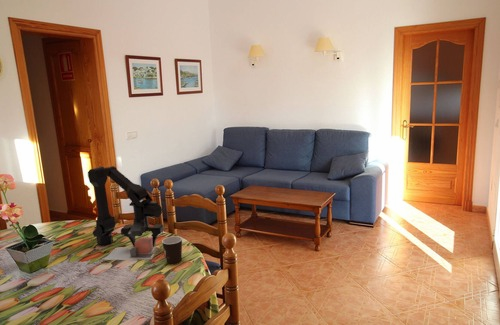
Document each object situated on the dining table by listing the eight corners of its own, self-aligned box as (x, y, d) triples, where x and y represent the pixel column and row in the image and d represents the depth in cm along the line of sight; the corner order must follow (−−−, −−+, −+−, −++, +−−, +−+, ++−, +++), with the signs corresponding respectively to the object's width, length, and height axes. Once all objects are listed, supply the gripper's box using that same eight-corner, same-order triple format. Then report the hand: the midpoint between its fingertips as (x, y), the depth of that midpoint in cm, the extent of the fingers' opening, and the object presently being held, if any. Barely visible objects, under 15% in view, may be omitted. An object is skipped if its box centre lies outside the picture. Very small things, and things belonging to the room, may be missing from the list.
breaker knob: (130, 256, 170) (129, 250, 170) (133, 253, 173) (132, 247, 173) (136, 256, 170) (135, 250, 170) (138, 253, 173) (137, 247, 173)
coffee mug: (181, 265, 163) (179, 243, 161) (162, 266, 163) (159, 244, 161) (186, 253, 174) (185, 233, 172) (168, 254, 175) (166, 233, 173)
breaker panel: (104, 262, 170) (103, 258, 170) (116, 249, 183) (116, 246, 182) (151, 261, 168) (151, 258, 167) (160, 249, 180) (160, 245, 180)
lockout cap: (135, 253, 175) (134, 242, 174) (140, 247, 181) (139, 237, 180) (148, 252, 174) (147, 242, 173) (153, 247, 180) (152, 237, 179)
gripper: (113, 221, 167) (117, 254, 170) (154, 220, 165) (158, 254, 168) (123, 213, 178) (127, 244, 181) (162, 212, 176) (165, 243, 179)
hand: (144, 246), depth 177 cm, fingers open, 9 cm apart
